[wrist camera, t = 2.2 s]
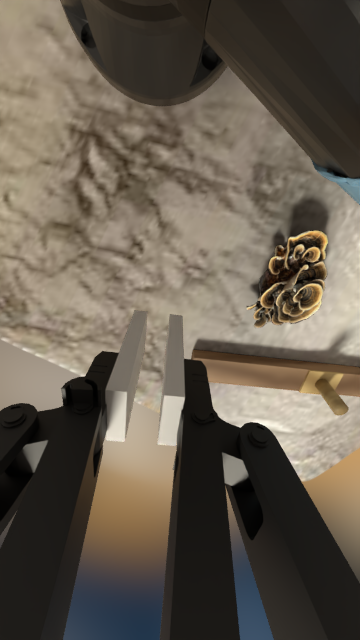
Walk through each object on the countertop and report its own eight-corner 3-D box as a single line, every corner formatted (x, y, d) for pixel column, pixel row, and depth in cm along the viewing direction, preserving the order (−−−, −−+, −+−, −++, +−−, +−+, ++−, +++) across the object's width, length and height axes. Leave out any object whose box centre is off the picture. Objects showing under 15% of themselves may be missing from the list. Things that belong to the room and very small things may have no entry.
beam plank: (193, 349, 35) (196, 383, 29) (387, 369, 37) (430, 406, 31) (188, 371, 37) (191, 408, 31) (374, 389, 39) (412, 428, 33)
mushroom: (281, 224, 28) (298, 230, 24) (337, 246, 29) (361, 255, 25) (236, 313, 33) (243, 329, 29) (284, 329, 34) (297, 346, 31)
